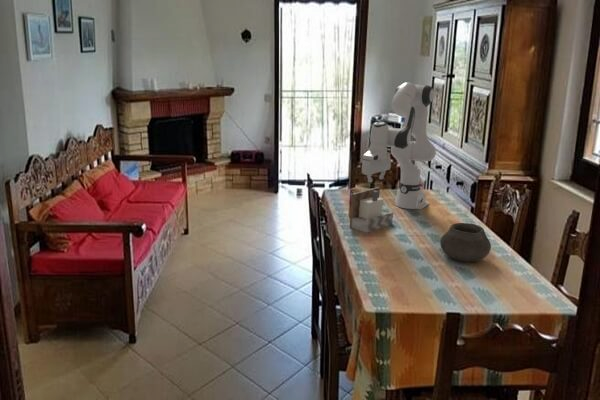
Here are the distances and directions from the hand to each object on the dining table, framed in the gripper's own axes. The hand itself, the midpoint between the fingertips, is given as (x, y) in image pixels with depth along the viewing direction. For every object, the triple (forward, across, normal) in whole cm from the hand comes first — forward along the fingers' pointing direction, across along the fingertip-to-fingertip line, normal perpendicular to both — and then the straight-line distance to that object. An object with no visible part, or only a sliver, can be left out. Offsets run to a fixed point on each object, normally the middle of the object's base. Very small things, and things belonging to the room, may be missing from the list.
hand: (375, 180), depth 267 cm
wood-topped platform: (+25, 0, 0) cm, 25 cm away
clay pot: (+24, +4, +55) cm, 60 cm away
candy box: (+25, -6, -15) cm, 30 cm away
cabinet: (+20, 0, -1) cm, 20 cm away
